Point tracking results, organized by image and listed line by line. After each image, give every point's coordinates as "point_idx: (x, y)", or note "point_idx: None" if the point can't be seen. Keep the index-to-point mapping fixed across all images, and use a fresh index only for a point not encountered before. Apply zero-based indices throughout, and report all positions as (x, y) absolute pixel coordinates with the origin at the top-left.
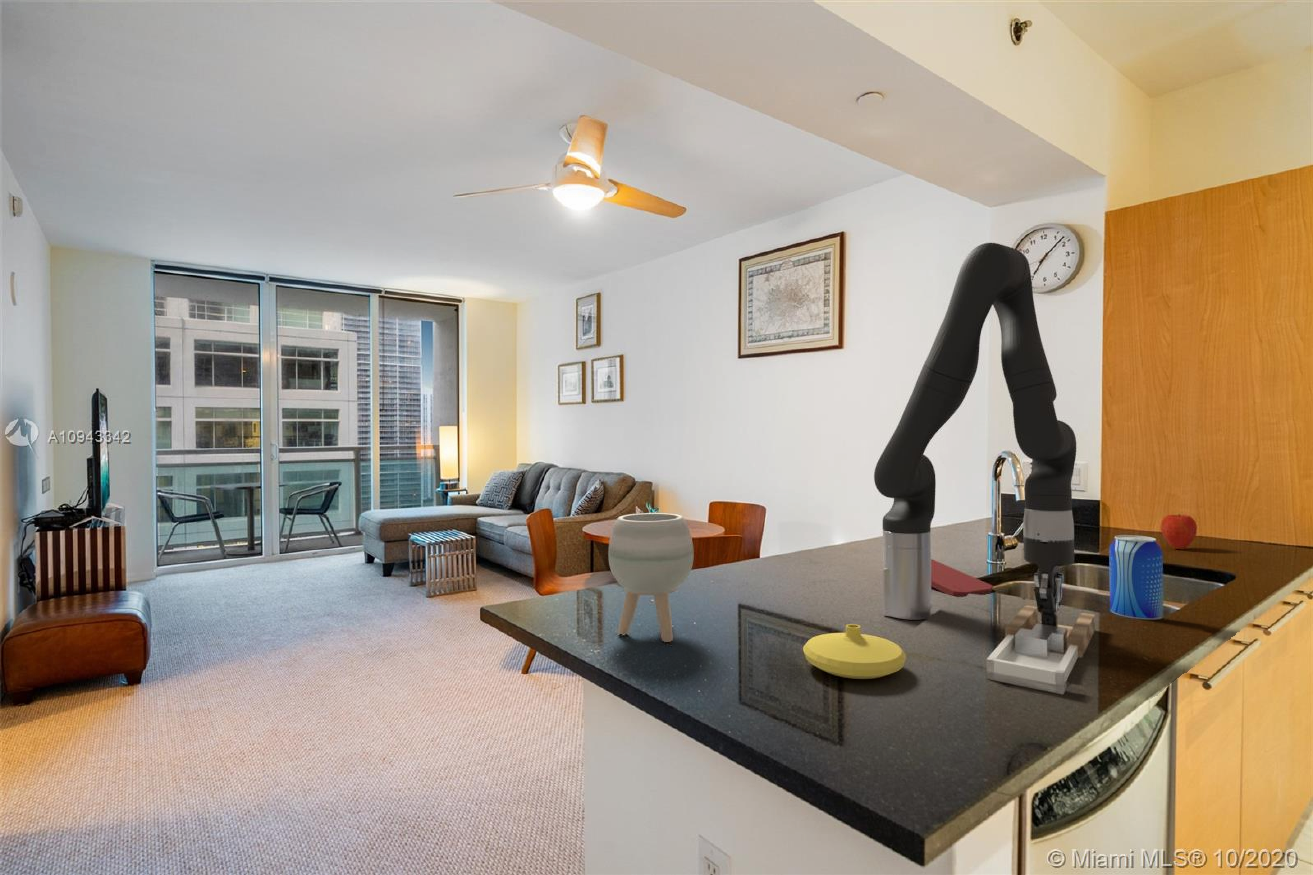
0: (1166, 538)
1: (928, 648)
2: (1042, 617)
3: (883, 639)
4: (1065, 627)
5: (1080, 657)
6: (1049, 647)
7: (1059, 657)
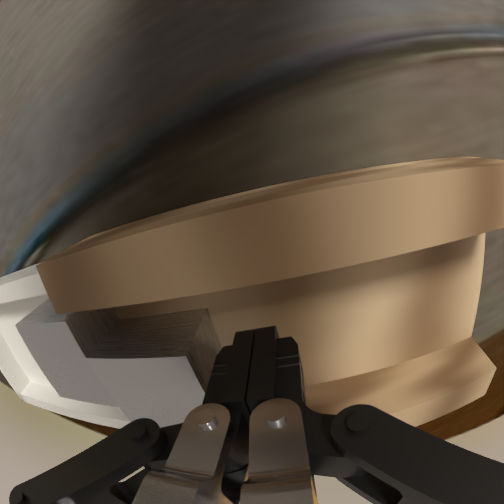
0: None
1: (2, 99)
2: (225, 389)
3: None
4: (463, 304)
5: None
6: None
7: None
